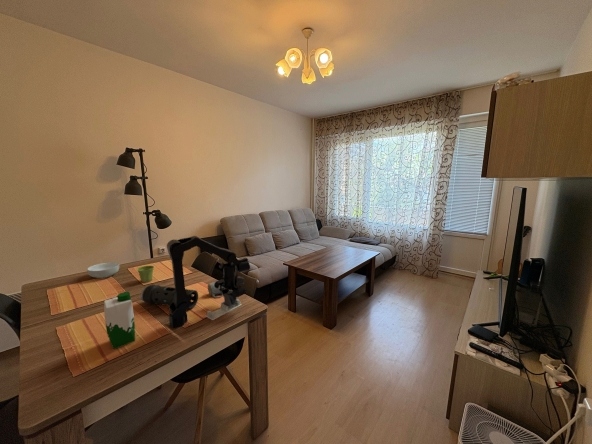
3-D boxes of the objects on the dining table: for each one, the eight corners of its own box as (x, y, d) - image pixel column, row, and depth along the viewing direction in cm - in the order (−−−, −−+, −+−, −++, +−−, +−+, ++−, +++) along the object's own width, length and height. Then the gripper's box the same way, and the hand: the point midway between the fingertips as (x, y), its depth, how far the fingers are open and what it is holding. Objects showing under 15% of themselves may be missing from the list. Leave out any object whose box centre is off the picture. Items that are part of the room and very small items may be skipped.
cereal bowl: (124, 274, 160) (123, 265, 159) (94, 283, 147) (92, 272, 145) (114, 269, 169) (112, 260, 168) (84, 277, 155) (83, 267, 154)
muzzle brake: (187, 314, 115) (186, 295, 113) (140, 307, 121) (138, 288, 119) (199, 304, 124) (198, 286, 122) (154, 298, 130) (152, 281, 128)
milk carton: (138, 341, 96) (132, 296, 92) (110, 352, 89) (103, 304, 86) (133, 331, 102) (128, 288, 98) (107, 340, 95) (101, 295, 92)
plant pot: (139, 278, 154) (138, 266, 153) (156, 276, 158) (154, 264, 156) (136, 284, 146) (135, 271, 144) (154, 282, 150) (153, 269, 148)
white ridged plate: (212, 321, 109) (212, 315, 109) (204, 316, 113) (204, 310, 112) (242, 305, 124) (241, 300, 123) (233, 301, 127) (233, 296, 127)
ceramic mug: (207, 293, 136) (206, 281, 135) (221, 289, 141) (220, 277, 140) (212, 301, 128) (211, 288, 126) (227, 297, 133) (226, 284, 131)
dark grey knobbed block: (229, 307, 118) (229, 293, 117) (224, 304, 120) (224, 291, 119) (236, 303, 121) (236, 290, 120) (231, 301, 124) (231, 288, 122)
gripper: (253, 274, 119) (254, 302, 122) (230, 265, 130) (231, 291, 132) (236, 281, 110) (237, 311, 113) (213, 271, 121) (214, 299, 123)
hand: (230, 302), depth 121 cm, fingers closed on dark grey knobbed block, 4 cm apart
